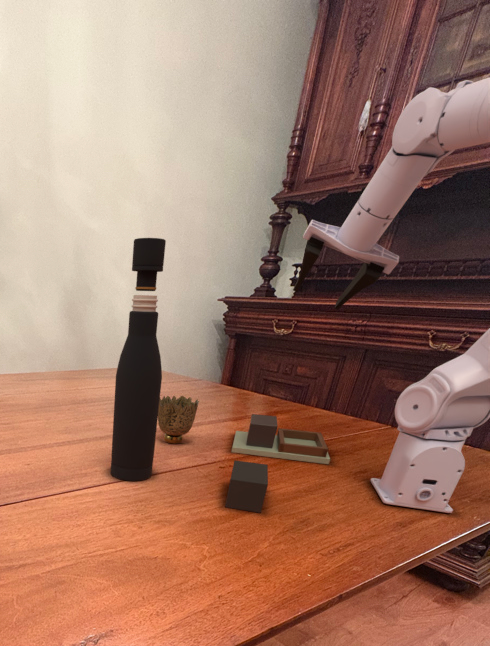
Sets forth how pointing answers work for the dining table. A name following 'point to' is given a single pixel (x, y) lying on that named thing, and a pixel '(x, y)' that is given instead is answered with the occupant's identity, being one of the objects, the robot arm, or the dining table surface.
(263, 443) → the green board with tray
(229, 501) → the loose block
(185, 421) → the cup
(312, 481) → the dining table surface
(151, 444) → the black bottle
